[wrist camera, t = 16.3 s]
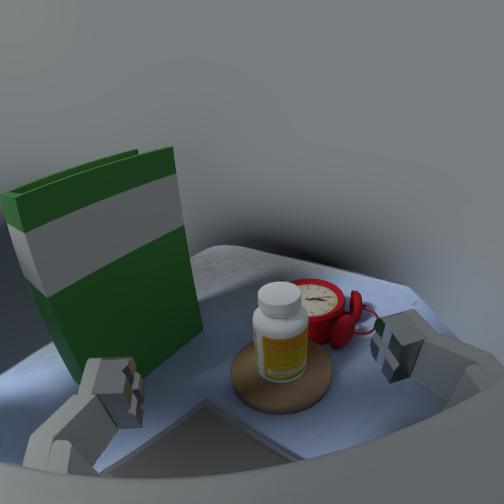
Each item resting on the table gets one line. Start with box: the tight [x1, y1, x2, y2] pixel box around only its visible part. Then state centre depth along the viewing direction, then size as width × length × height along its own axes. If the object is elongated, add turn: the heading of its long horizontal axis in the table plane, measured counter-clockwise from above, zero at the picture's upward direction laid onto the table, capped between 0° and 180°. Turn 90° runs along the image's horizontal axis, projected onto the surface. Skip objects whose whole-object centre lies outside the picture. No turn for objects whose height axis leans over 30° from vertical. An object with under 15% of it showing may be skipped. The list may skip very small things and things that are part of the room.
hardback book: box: [0, 147, 203, 385], centre depth 33 cm, size 18×7×24 cm, turn 146°
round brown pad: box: [231, 339, 332, 414], centre depth 34 cm, size 11×11×2 cm
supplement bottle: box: [252, 282, 308, 383], centre depth 31 cm, size 5×5×10 cm
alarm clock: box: [256, 279, 378, 348], centre depth 41 cm, size 10×6×15 cm
